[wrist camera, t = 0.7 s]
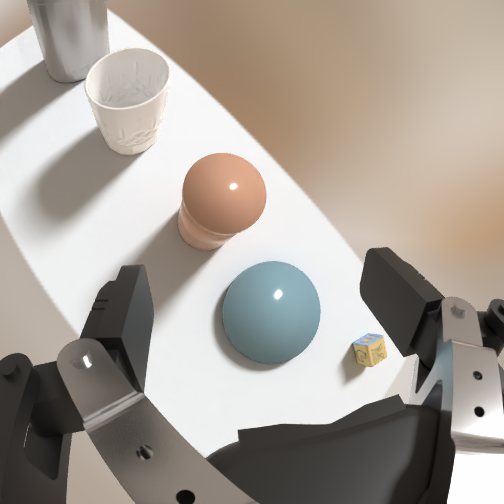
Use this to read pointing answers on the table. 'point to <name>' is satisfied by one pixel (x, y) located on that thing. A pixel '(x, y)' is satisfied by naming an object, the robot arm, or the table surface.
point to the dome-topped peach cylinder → (219, 200)
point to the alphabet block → (370, 349)
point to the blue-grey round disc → (271, 312)
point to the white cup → (129, 97)
